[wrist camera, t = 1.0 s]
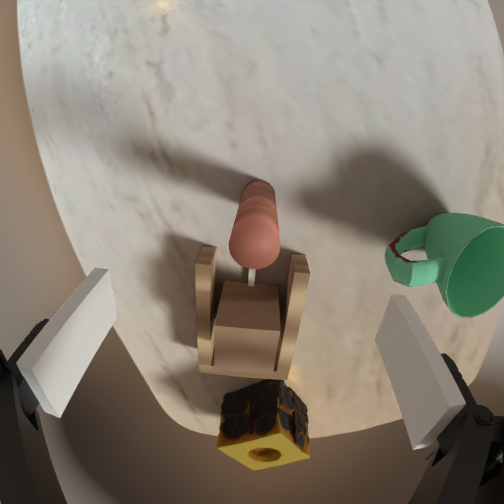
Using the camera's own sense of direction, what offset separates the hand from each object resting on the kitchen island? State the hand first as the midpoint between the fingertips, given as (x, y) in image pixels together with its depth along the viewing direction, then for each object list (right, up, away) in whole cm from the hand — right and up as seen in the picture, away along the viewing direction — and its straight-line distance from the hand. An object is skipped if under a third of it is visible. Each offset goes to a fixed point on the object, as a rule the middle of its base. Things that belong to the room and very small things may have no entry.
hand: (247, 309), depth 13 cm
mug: (+20, +5, +17) cm, 27 cm away
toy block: (+2, -21, +31) cm, 37 cm away
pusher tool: (0, +2, +20) cm, 20 cm away
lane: (0, -4, +22) cm, 22 cm away
